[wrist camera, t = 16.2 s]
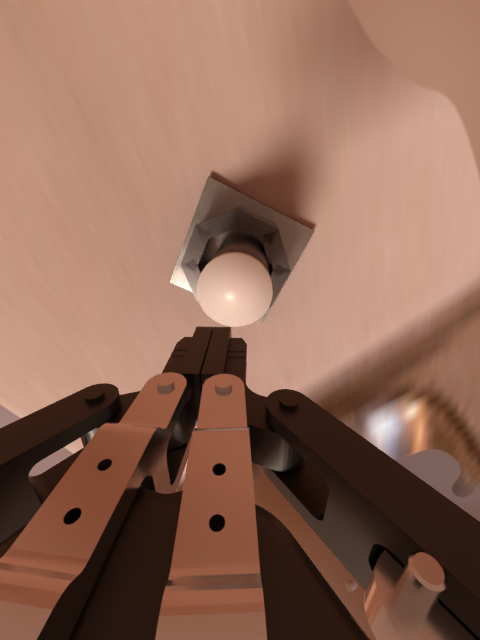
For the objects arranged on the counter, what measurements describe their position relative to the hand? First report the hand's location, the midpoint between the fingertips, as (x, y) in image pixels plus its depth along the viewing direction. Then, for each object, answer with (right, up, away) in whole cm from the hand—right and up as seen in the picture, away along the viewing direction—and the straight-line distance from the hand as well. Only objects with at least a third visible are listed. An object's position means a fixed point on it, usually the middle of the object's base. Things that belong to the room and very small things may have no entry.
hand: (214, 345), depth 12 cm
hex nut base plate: (+1, +8, +16) cm, 18 cm away
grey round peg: (+1, +7, +16) cm, 17 cm away
